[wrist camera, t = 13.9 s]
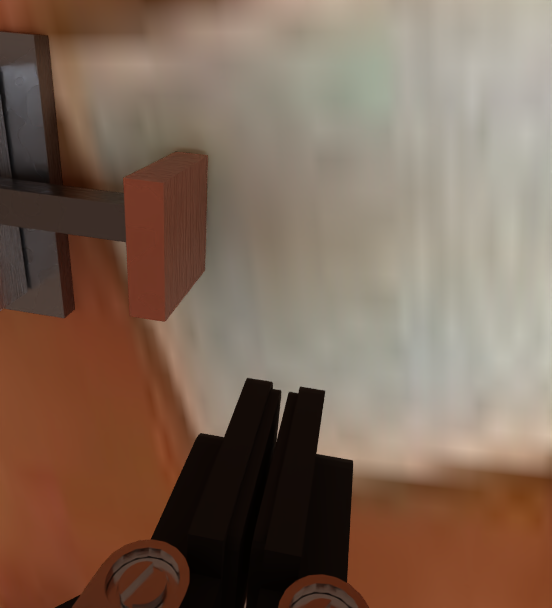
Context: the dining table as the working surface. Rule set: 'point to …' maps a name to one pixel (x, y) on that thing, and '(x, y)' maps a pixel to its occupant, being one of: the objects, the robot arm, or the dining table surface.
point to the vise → (35, 166)
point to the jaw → (116, 226)
